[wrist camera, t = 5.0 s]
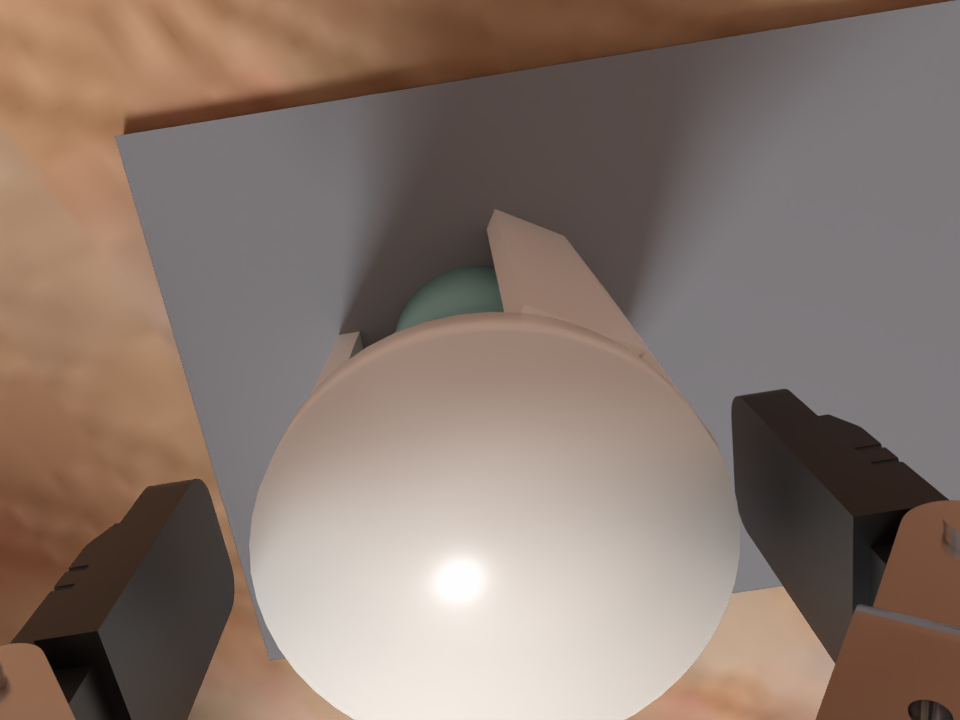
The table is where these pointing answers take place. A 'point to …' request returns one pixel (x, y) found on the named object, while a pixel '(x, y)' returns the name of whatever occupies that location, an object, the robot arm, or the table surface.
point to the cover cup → (497, 511)
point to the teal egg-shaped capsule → (453, 296)
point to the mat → (594, 230)
